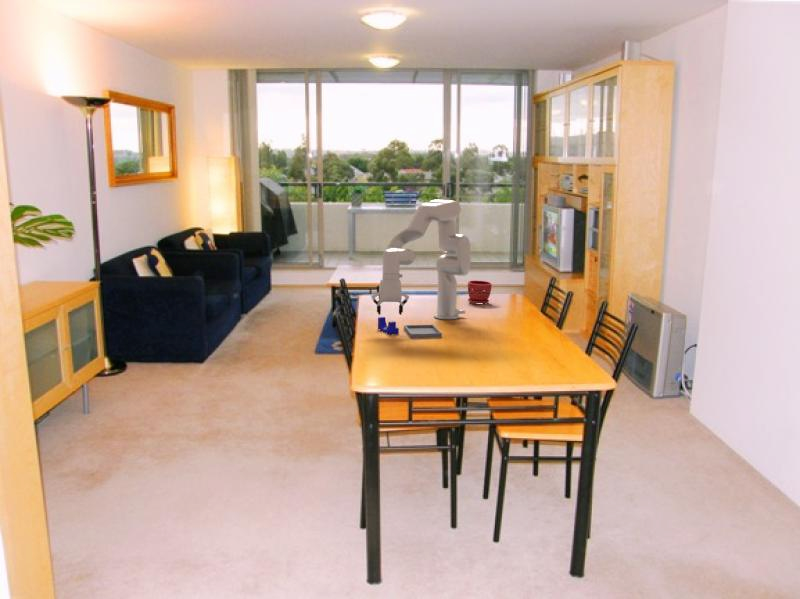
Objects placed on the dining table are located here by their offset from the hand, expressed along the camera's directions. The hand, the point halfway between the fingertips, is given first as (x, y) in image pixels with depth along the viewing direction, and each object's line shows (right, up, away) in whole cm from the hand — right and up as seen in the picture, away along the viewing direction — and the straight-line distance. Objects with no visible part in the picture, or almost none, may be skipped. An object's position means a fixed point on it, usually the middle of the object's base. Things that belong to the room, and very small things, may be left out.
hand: (389, 314), depth 328 cm
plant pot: (+49, +4, +75) cm, 89 cm away
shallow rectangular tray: (+15, -9, -1) cm, 17 cm away
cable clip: (-1, -9, +2) cm, 9 cm away
